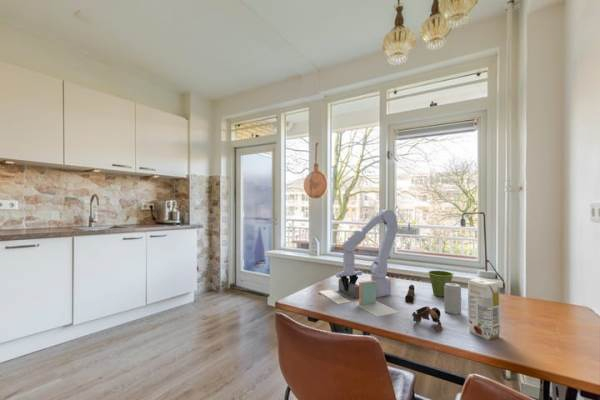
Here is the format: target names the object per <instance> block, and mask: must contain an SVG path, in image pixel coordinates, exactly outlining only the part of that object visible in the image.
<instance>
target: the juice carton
mask: <svg viewBox="0 0 600 400" xmlns="http://www.w3.org/2000/svg"><path fill="white" fill-rule="evenodd" d="M500 295H501V293H500V284H499V282H496V281H490V280H486V279H483V278H482V277H481V278H480V277H479V278H477V277H476V278H471V279H468V283H467V304H468V305H467V307H468V308H467V311H468V313H467V314H468V315H467V316H468V331H469V333H470V334H474V335H475V336H478V337H481V338H483V339H485V340H487V341H489V340H492V339H496V338H499V337H500V334H501V302H500V301H501V296H500Z"/></svg>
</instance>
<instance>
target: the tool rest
mask: <svg viewBox="0 0 600 400" xmlns="http://www.w3.org/2000/svg"><path fill="white" fill-rule="evenodd" d="M318 294H320V295H322V296H324V297H326V298H327V299H328V300H330V301H332V302H333V303H335V304H337V305H345V304H350V303H352V300H349V299H348V298H345V297H343V296H342V295H340V294H339V293H337V292H335V291H334V290H332V289H325V290H319V291H318Z"/></svg>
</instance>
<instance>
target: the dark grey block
mask: <svg viewBox="0 0 600 400" xmlns="http://www.w3.org/2000/svg"><path fill="white" fill-rule="evenodd" d="M338 291H340V292H343V293H344V294H346V295H348V296H350V297H351V298H354V299H359V284H357V283H353V282H350V280H349V281H348V291H345V290H344V286H343V283H342V280H341V278H338Z"/></svg>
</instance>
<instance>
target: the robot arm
mask: <svg viewBox="0 0 600 400" xmlns="http://www.w3.org/2000/svg"><path fill="white" fill-rule="evenodd" d="M397 217H398V216H397V215H396V213H395V212H394V211H393V210H392V209H380V210H379V212H376V213H375V214H374V216H373V217H372V218H370V220H369V221H368V222H367V223H366V224H365V225H364V226H363V227H362V228H361V229H357V230H354V231H353V233H352V234H351V236H350V237H347V240H344V242H343V244H342V246H341V247H342V249H343V257H342V258H343V260H342V261H343V271H341V272H336V273H335V277H336V278H337V279H341V280H342V283H343V286H344V290H345V291H348V281H350V282H353V283H355V284H357V280H358V279H359V276H362V275H363V273H362V272H363V271H362V270H356V269H355V267H356V266H355V264H356V262H355V259H356V258H355V251H356V249H357V247H358V246H359V245H360V244H361V243H362V242H363V241H364V240H365V239H367V233H369V232H370V231H371V230H373V228H375V227H376V226H377V225H378V224H379V225H380V224H384V226H385V227H386V231H385V234H384V237H383V239H382V242H381V245H380V247H379V252H378V254H377V256H376V257H375V259H374V261H373V263H372V264H371V265H370V268H369V269H370V272H371V275H370V281H372V280H374V281H376V298H379V297H385V296H392V295H393V293H392V286H391V285H392V283H391V279H390V277H389V276H387V274H388V259H389V256H390V253H391V250H392V247H393V245H394V242H395V239H396V237H397V233H398V230H399V226H398V220H397Z"/></svg>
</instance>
